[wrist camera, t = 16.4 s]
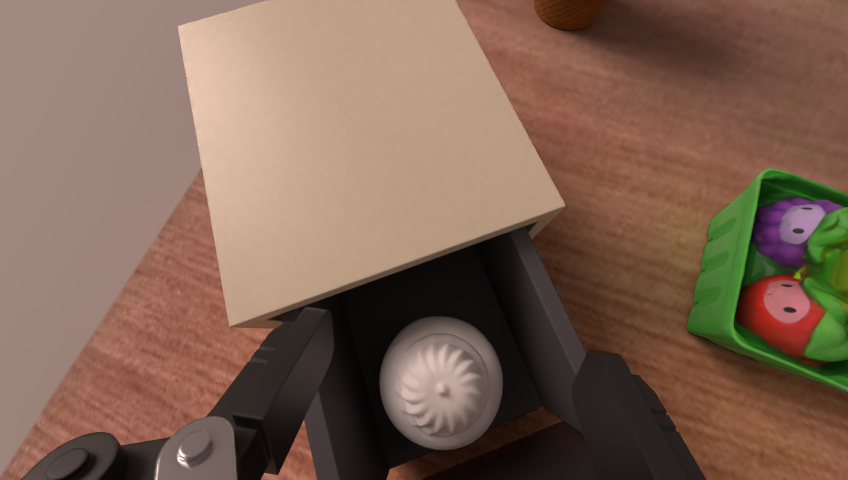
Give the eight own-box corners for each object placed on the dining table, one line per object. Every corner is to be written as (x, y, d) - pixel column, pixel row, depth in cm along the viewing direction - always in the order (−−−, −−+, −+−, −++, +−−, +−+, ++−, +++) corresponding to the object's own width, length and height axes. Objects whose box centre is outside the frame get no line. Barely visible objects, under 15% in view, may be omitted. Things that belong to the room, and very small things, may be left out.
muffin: (509, 396, 19) (553, 431, 12) (416, 449, 18) (406, 517, 11) (459, 301, 20) (472, 285, 14) (372, 346, 20) (341, 353, 13)
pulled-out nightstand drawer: (589, 460, 19) (723, 568, 10) (386, 546, 18) (342, 746, 9) (484, 223, 23) (513, 157, 14) (317, 282, 22) (243, 250, 14)
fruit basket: (695, 196, 24) (911, 84, 13) (822, 243, 23) (1176, 161, 12) (660, 339, 21) (897, 344, 10) (802, 401, 20) (1243, 482, 9)
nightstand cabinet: (506, 263, 23) (566, 206, 13) (325, 330, 22) (228, 327, 12) (431, 96, 27) (430, -48, 17) (277, 146, 26) (176, 25, 16)
